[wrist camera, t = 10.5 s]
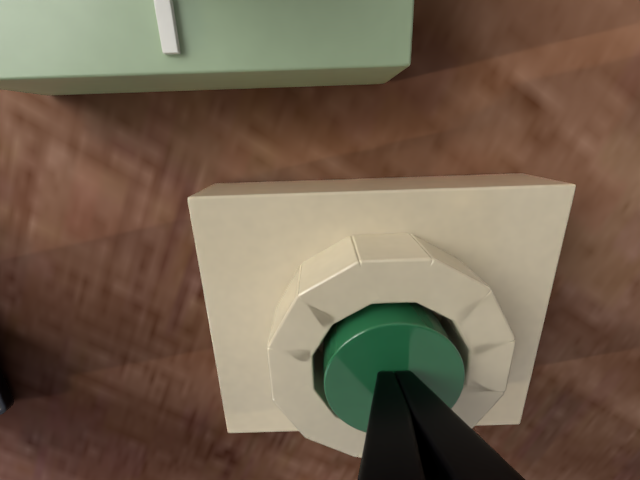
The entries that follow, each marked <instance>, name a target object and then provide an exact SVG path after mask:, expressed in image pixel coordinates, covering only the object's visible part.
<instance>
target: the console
mask: <svg viewBox="0 0 640 480" xmlns="http://www.w3.org/2000/svg"><path fill="white" fill-rule="evenodd" d="M413 13H414V0H0V89H3V90H10V91H18V92H25V93H33V94H40V95H75V94H104V93H133V92H162V91H191V90H220V89H250V88H279V87H308V86H337V85H366V84H384V83H386V82H387V81H389V80H390V79H392V78H393V77H394V76H396V75H397V74H399V73H400V72H401V71H403V70H404V69H406V68H407V67H409V66H410V64H411V49H412V31H413Z"/></svg>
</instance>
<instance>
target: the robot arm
mask: <svg viewBox="0 0 640 480" xmlns="http://www.w3.org/2000/svg"><path fill="white" fill-rule="evenodd" d="M13 404H14V398H13V396H12V394H11V392H10V389H9V387H8V385H7V383H6V381H5V378H4V376H3V374H2V372H1V370H0V414H3V413H4V412H6V411H7V410H8V409H9V408H10V407H11V406H12V405H13ZM358 480H525V479H524V478H523V477H522V476H521V475H520V474H519V473H518V472H517V471H516V470H514V469H513V468H512V467H511V466H510V465H509V464H508V463H507V462H506V461H505V460H504V459H503V458H502V457H501V456H500V455H499V454H498V453H497V452H496V451H495V450H494V449H492V448H491V447H490V446H489V445H488V444H487V443H486V442H485V441H484V440H483V439H482V438H481V437H480V436H479V435H478V434H477V433H476V432H475V431H474V430H473V429H472V428H470V427H469V426H468V425H467V424H466V423H465V422H464V421H463V420H462V419H461V418H460V417H459V416H458V415H457V414H456V413H455V412H454V411H453V410H452V409H451V408H450V407H448V406H447V405H446V404H445V403H444V402H443V401H442V400H441V399H440V398H439V397H438V396H437V395H436V394H435V393H434V392H433V391H432V390H431V389H430V388H429V387H428V386H426V385H425V384H424V383H423V382H422V381H421V380H420V379H419V378H418V377H417V376H416V375H415V374H414V373H413V372H411V371H396V372H395V373H394V372H393V371H380V372H378V373H377V378H376V384H375V389H374V394H373V400H372V405H371V410H370V416H369V421H368V427H367V432H366V437H365V443H364V448H363V453H362V459H361V464H360V469H359V475H358Z"/></svg>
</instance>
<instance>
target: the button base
mask: <svg viewBox="0 0 640 480" xmlns="http://www.w3.org/2000/svg"><path fill="white" fill-rule="evenodd" d="M575 189H576V185H575V184H572V183H567V182H562V181H557V180H552V179H548V178H543V177H538V176H533V175H528V174H523V173H514V174H484V175H454V176H424V177H394V178H364V179H334V180H303V181H273V182H243V183H215V184H213V185H211V186H209V187H207V188H205V189H203V190H201V191H199V192H197V193H196V194H194V195H192V196H190V197H188V205H189V211H190V217H191V223H192V228H193V234H194V240H195V246H196V252H197V257H198V263H199V269H200V275H201V280H202V286H203V292H204V298H205V304H206V309H207V315H208V321H209V327H210V332H211V338H212V344H213V350H214V356H215V361H216V367H217V373H218V379H219V384H220V390H221V396H222V402H223V408H224V413H225V419H226V425H227V431H228V433H251V432H284V431H300V433H301V434H302V435H303V436H304V437H305V438H308V439H309V440H312V441H314V442H317V443H319V444H322V445H325V446H327V447H330V448H332V449H335V450H338V451H340V452H343V453H345V454H348V455H351V456H353V457H359V458H362V453H363V448H364V443H365V437H366V433H365V432H362V431H360V430H357V429H355V428H353V427H351V426H349V425H348V424H346V423H345V422H343V421H342V420H341V419H340V418H339V417H338V416H337V415H336V414H335V413H334V412H333V410H332V409H331V407H330V406H329V404H328V401H327V399H326V396H325V393H324V385H323V342H322V341H323V339H324V338H325V336H326V334H327V333H328V331H329V330H330V328H331V327H332V325H333V324H335V323H337V322H339V321H340V320H342V319H344V318H346V317H348V316H350V315H352V314H354V313H355V312H357V311H359V310H361V309H363V308H365V307H367V306H369V305H371V304H383V303H414V302H416V303H418V304H420V305H422V306H424V307H426V308H428V309H430V310H432V311H433V312H434V314H435V315H436V317H437V318H438V320H439V321H440V323H441V324H442V326H443V328H444V329H445V331H446V332H447V334H448V335H449V337H450V338H451V340H452V342H453V343H454V345H455V346H456V348H457V349H458V351H459V353H460V355H461V357H462V360H463V363H464V369H465V381H464V386H463V390H462V392H461V395H460V397H459V399H458V400H457V402H456V404H455V405H454V406H453V407H452V410H453V411H454V412H455V413H456V414H457V415H458V416H459V417H460V418H461V419H462V420H463V421H464V422H465V423H466V424H467V425H468V426H469V427H470V428H473V427H474V426H481V425H514V424H520V422H521V418H522V413H523V409H524V405H525V401H526V396H527V392H528V388H529V384H530V379H531V375H532V371H533V367H534V363H535V358H536V354H537V350H538V346H539V341H540V337H541V333H542V329H543V324H544V320H545V316H546V312H547V308H548V303H549V299H550V295H551V291H552V286H553V282H554V278H555V274H556V269H557V265H558V261H559V257H560V253H561V248H562V244H563V240H564V236H565V231H566V227H567V223H568V219H569V215H570V210H571V206H572V202H573V198H574V193H575Z"/></svg>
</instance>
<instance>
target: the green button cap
mask: <svg viewBox="0 0 640 480" xmlns="http://www.w3.org/2000/svg"><path fill="white" fill-rule="evenodd" d="M322 342H323V385H324V393H325V396H326V399H327V401H328V404H329V406H330V407H331V409H332V410H333V412H334V413H335V414H336V415H337V416H338V417H339V418H340V419H341V420H342V421H343V422H345V423H346V424H348V425H349V426H351V427H353V428H355V429H357V430H360V431H362V432H365V433H366V432H367V427H368V421H369V416H370V410H371V405H372V400H373V394H374V389H375V384H376V378H377V373H378V372H380V371H393V372H394V373H395V372H396V371H411V372H413V373H414V374H415V375H416V376H417V377H418V378H419V379H420V380H421V381H422V382H423V383H424V384H425V385H426V386H428V387H429V388H430V389H431V390H432V391H433V392H434V393H435V394H436V395H437V396H438V397H439V398H440V399H441V400H442V401H443V402H444V403H445V404H446V405H447V406H448V407H450V408H451V409H452V407H453V406H454V405H455V404H456V402H457V400H458V399H459V397H460V395H461V392H462V390H463V386H464V381H465V369H464V363H463V360H462V357H461V355H460V353H459V351H458V349H457V348H456V346H455V345H454V343H453V342H452V340H451V338H450V337H449V335H448V334H447V332H446V331H445V329H444V328H443V326H442V324H441V323H440V321H439V320H438V318H437V317H436V315H435V314H434V312H433V311H432V310H430V309H428V308H426V307H424V306H422V305H420V304H418V303H416V302H414V303H383V304H371V305H369V306H367V307H365V308H363V309H361V310H359V311H357V312H355V313H354V314H352V315H350V316H348V317H346V318H344V319H342V320H340V321H339V322H337V323H335V324H333V325H332V327H331V328H330V330H329V331H328V333H327V334H326V336H325V338H324V339H323V341H322Z"/></svg>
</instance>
